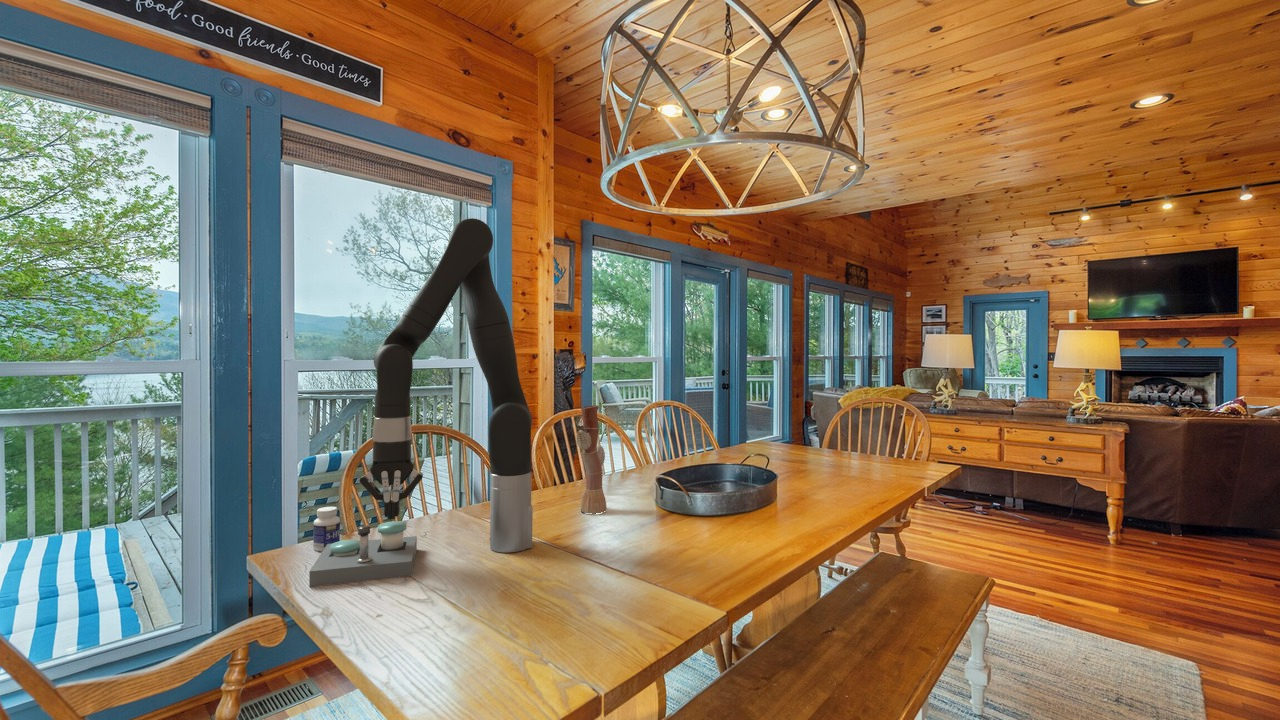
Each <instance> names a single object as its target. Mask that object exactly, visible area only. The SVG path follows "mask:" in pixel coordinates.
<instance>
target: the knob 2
mask: <svg viewBox="0 0 1280 720" xmlns="http://www.w3.org/2000/svg"><path fill="white" fill-rule="evenodd" d="M406 530H407V522H405V521H401V520H398V521H397V520H394V521H393V520H392V521H386V522H382V523H380V524H378V525H377V532H378V534H380V539H381V548H382V549H386V550H390V549H397V548H400V547H402V546H403V537H404V531H406Z"/></svg>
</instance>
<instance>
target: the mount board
mask: <svg viewBox="0 0 1280 720" xmlns="http://www.w3.org/2000/svg"><path fill="white" fill-rule="evenodd" d="M417 541H418V537H417V536H416V535H414V536H403V546H402V547H400V548H397V549H390V550H386V549H382V548H381V538H380V539H371V540H370V539H369V556H371V557H372V560H371V561H370V562H367V563H357V562H356V559H357V558H358V557H360V548H359V549H358V550H357V554H355V555H344V556H334V553H332V552H330V545H331V544H333V543H331V544H327V546H326V547H325V549H324V550H323V551H321V552H320V555H319V556H318V558H317V559H316V560H315V562H314V563H313V565H312V567H311V569H310V570H309V579H308V580H309V588H314V587H315V588H316V587H322V586H323V587H324V586H332V585H340V584H341V585H342V584H343V585H344V584H351V583H360V582H369V581H379V580H387V579H388V580H389V579H398V578H406V577H412V575H413V570H414V569H413V568H414V564H415V560H416V559H415V558H416V555H417V551H418V550H417V548H418V547H417V544H418V542H417Z"/></svg>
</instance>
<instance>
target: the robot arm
mask: <svg viewBox="0 0 1280 720" xmlns="http://www.w3.org/2000/svg"><path fill="white" fill-rule="evenodd" d="M447 241H448V243H447V246H446V248H445V250H444V252H443V254H442V256H441V258H440V259H439V262H438V263H437V265H436V267H435V268H434V270H433V271H432V273H431V274H430V275H429V276H428V278H427V280H426V281H425V282H424V284H423V285H422V286H421V287H420V289H419V290H418V291H417V293H416V295H415V296H414V297H413V298H412V299H411V301H410V303H409V305H407V307H406V309H405V310H404V311H403V313H402V315H401V317H399V319H398V322H397V324H396V325H395V327H394V328H393V329H392V330H391V332H390V333H389V334H388V335H387V336H386V338H385V339H384V340H383V342H382V343H381V344H380V346H379V347H378V348H377V350H376V351H375V354H374V356H373V365H374V368H375V369H376V375H377V376H376V385H377V386H376V388H377V390H376V392H375V396H374V419H373V426H372V434H371V436H372V463H371V466H370V468H369V471H368V472H366V474H364V475H362V476H360V478H359V480H358V481H359V483H360V484H361V485H362V487H364V488H365V490H366V491H367V492H368V493H369V494H370V495H371V497H373V499H375V501H382V502H383V503H384V506H383V508H384V510H383V511H384V513H383V514H384V515H383V516H384V517H385V518H387V521H388V520H396V517H398V516H399V514H400V501H402V500H403V499H407V498H408V496H410V494H411V493H412V492H413V490H414V489H416V488H417V486H418V484H419V483H420V482H422V481H421V480H422V479H423V477H424V473H423V472H422V471H420V472H419V470H416V469H415V468H414V467H415V466H414V464H413V462H412V419H411V387H412V379H413V370H414V369H413V368H414V367H413V365H414V364H413V363H414V362H413V357H414V355H415V354H416V352H417V351H418V349H419V347H420V346H422V344H423V343H425V341H427V340H428V338H429V337H430V336H431V335H432V333H433V331H434V330H435V328H436V327H437V325H438V324H439V322H440V320H441V319H442V318H443V315H444V314H445V312H446V311H447V309H448V307H449V305H450V303H451V301H452V299H453V298H454V296H455V295H456V292H457V291H458V289H459V288H460V286H461V290H462V296H463V305H464V309H465V316H466V321H467V326H468V330H469V336H470V339H471V344H472V348H473V352H474V354H475V357H476V359H477V362H478V365H479V366H480V369H481V372H482V373H483V375H484V378H485V380H486V383H487V386H488V390H489V397H490V403H491V409H492V413H491V416H490V418H489V422H488V457H489V459H488V460H489V465H490V471H489V473H490V474H489V475H490V477H489V478H490V480H489V481H490V482H489V483H490V484H489V485H490V487H489V488H490V489H489V492H490V493H489V494H490V495H489V500H490V501H489V503H490V506H489V507H490V508H489V509H490V510H489V515H490V516H489V520H490V521H489V535H490V536H489V545H490V546H489V548H490V550H491V551H493V552H498V553H516V552H522V551H525V550H528V549H533V520H534V519H533V515H534V514H533V511H534V509H533V505H532V450H531V449H532V426H533V415H532V412H531V410H530V408H529V405H528V403H527V400H526V396H525V393H524V392H523V388H522V384H521V380H520V376H519V368H518V359H517V353H516V347H515V342H514V336H513V332H512V328H511V323H510V319H509V316H508V313H507V310H506V308H505V306H504V303H503V302H502V299H501V297H500V295H499V293H498V291H497V289H496V287H495V284H494V279H493V276H492V270H491V264H490V263H491V262H490V252H491V250H492V248H493V245H494V235H493V232H492V230H491V228H490V227H489V225H488V224H487V223H486V222H485V221H482V220H481V219H478V218H473V217H472V218H471V217H469V218H466V219H463V220H461V221H459V222H457V223H456V224H455V226H453V228H452V230H451V232H450V235H449V237H448V240H447ZM410 475H411V476H410ZM373 477H374V478H373ZM409 477H410V480H411V481H410V483H408V485H407V486H406V488H405V489H404V490H403V491H401V487H402V484H404V482H405V481H407V478H409ZM374 479H375V480H376V481H377V482H378V483H379V485H381V486H382V491H381V490H380V489H379V488H378V486H377V485H376V484H375V483H374ZM392 486H393V488H392ZM392 489H393V490H392Z"/></svg>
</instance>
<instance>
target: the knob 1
mask: <svg viewBox="0 0 1280 720" xmlns="http://www.w3.org/2000/svg"><path fill="white" fill-rule="evenodd" d="M359 548H360V539H343V540H340V541H338V542H335V543H333V544H331V545H330V552H332V553H334V556H344V555H355V554H357V550H358V549H359Z"/></svg>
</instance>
